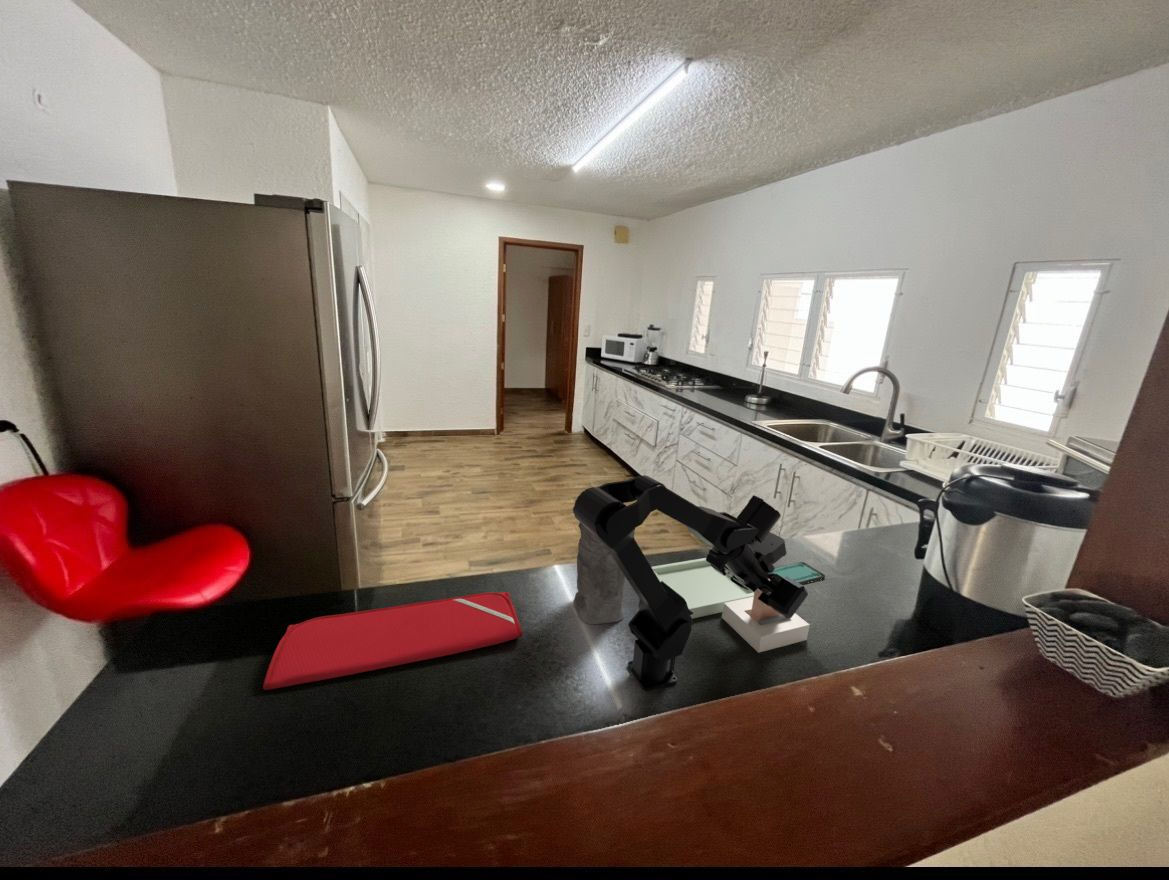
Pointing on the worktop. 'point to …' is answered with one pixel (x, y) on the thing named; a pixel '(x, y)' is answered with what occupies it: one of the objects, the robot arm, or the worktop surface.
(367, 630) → the dish drying mat
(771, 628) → the white slotted base
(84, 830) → the worktop surface
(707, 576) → the tray
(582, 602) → the figurine
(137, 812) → the worktop surface
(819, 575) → the smartphone
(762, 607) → the salmon pink rectangular block
